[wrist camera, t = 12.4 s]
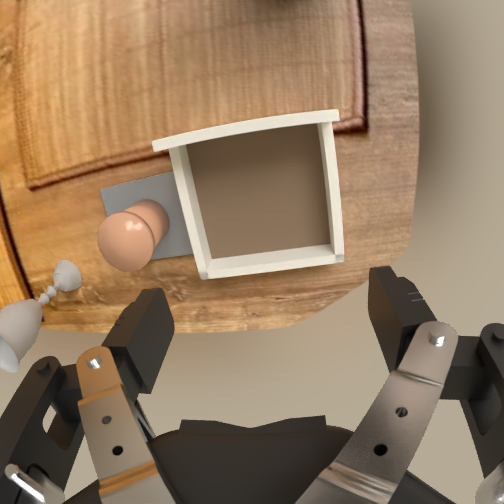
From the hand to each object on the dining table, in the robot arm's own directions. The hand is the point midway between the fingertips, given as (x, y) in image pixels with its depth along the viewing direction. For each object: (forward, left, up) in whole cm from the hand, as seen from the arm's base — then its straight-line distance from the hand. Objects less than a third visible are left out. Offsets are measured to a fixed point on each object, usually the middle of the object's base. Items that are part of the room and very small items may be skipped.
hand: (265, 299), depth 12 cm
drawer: (+2, -1, -24) cm, 25 cm away
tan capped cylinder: (+3, -15, -23) cm, 28 cm away
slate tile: (+3, -15, -24) cm, 29 cm away
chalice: (+9, -31, -25) cm, 41 cm away
